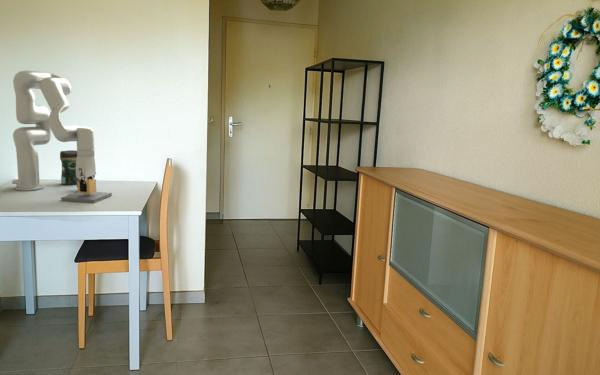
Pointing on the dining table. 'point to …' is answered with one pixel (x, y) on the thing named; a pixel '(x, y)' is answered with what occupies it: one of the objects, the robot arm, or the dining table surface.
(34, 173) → the robot arm
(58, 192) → the dining table surface
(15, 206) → the dining table surface
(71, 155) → the coffee jar
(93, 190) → the tan cardboard cube
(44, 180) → the dining table surface
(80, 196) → the plate
